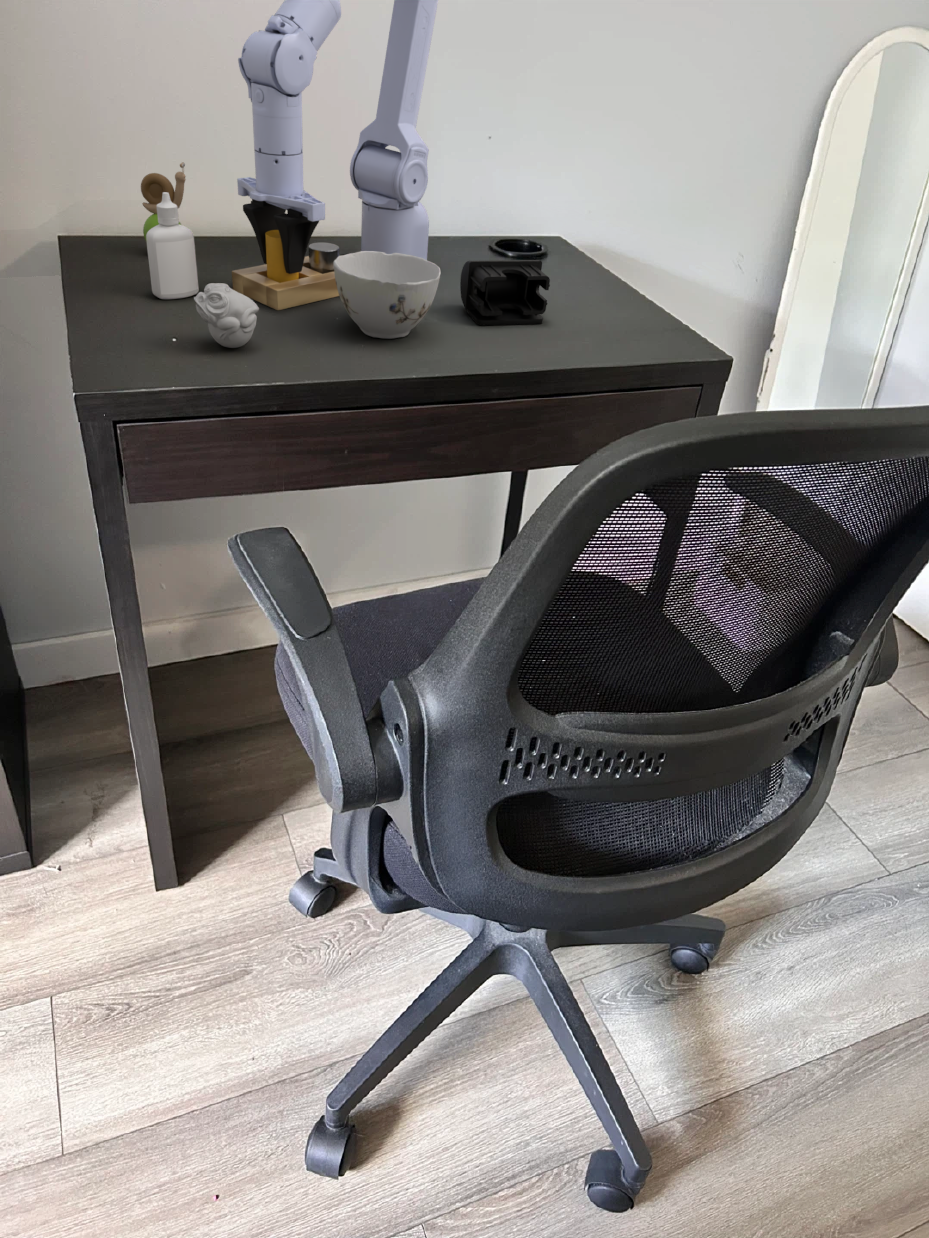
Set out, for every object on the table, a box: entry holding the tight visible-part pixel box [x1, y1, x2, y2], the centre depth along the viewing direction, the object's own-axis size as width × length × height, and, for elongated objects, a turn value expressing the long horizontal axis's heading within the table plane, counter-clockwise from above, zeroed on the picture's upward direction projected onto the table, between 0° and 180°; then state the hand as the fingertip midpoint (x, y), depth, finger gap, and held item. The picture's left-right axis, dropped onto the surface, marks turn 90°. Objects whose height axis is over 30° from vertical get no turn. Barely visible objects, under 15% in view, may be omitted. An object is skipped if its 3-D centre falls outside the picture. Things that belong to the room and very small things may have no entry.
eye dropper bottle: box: [145, 192, 200, 300], centre depth 112 cm, size 4×6×12 cm
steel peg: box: [308, 241, 340, 274], centre depth 123 cm, size 4×4×5 cm
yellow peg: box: [265, 230, 299, 283], centre depth 118 cm, size 4×4×8 cm
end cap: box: [459, 259, 551, 326], centre depth 118 cm, size 10×7×7 cm
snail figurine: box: [140, 161, 187, 243], centre depth 126 cm, size 5×6×12 cm
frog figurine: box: [193, 282, 260, 349], centre depth 102 cm, size 6×7×7 cm
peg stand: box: [231, 255, 340, 311], centre depth 121 cm, size 9×16×2 cm, turn 138°
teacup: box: [334, 250, 442, 340], centre depth 111 cm, size 15×12×8 cm
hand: (282, 267), depth 118 cm, fingers closed on yellow peg, 4 cm apart
